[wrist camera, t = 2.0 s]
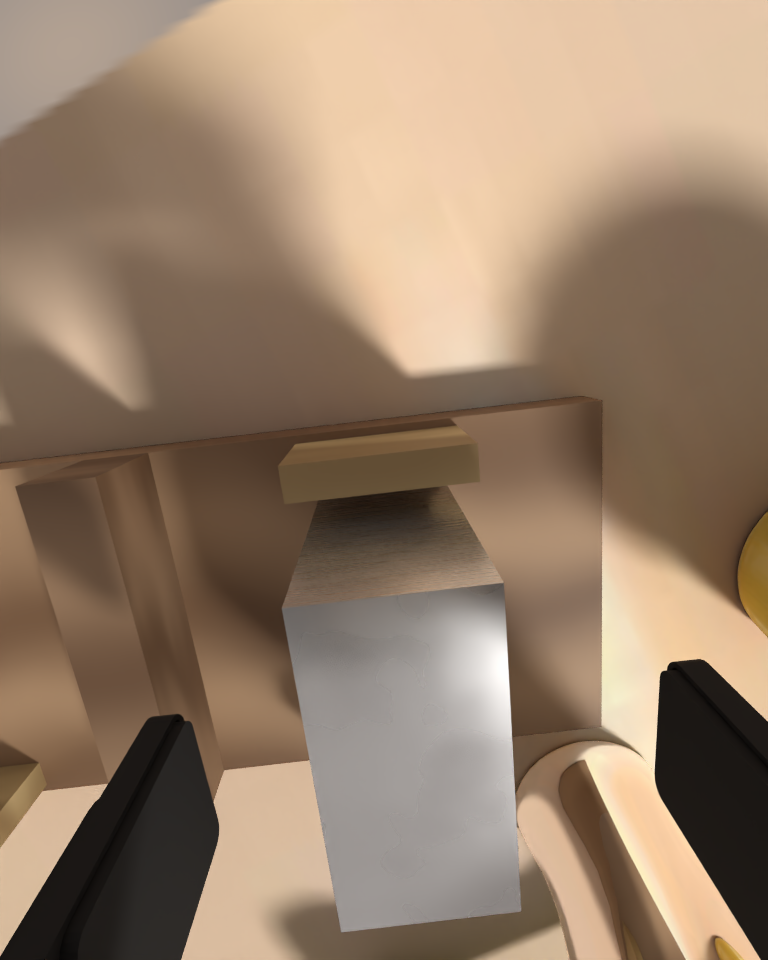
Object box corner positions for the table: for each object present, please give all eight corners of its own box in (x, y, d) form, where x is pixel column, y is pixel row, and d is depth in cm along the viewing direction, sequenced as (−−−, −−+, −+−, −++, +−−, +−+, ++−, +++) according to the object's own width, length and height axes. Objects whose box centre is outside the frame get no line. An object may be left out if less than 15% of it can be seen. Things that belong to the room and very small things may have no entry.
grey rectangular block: (462, 696, 18) (521, 911, 11) (351, 708, 18) (341, 932, 11) (445, 481, 16) (504, 582, 9) (319, 496, 16) (281, 608, 9)
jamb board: (584, 698, 20) (645, 798, 15) (-165, 784, 20) (-317, 909, 15) (581, 396, 17) (657, 412, 12) (-307, 498, 16) (-548, 551, 12)
